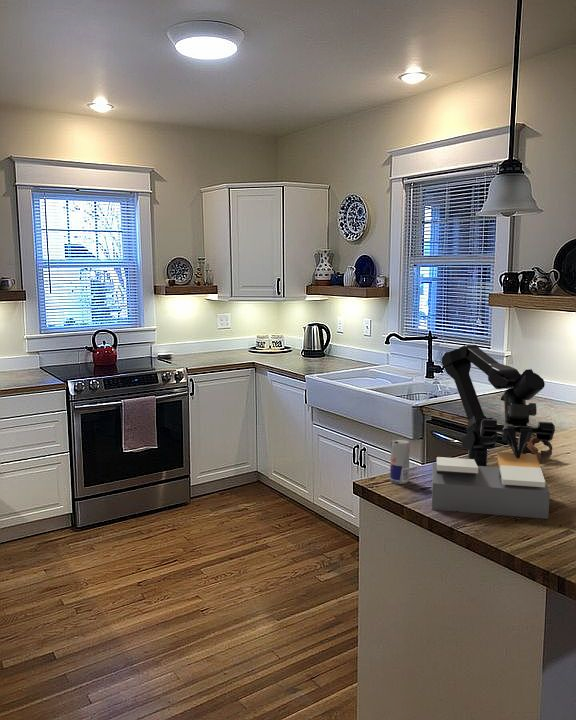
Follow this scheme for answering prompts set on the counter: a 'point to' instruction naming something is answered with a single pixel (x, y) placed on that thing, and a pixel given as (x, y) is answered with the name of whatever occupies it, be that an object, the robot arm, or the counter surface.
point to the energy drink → (399, 461)
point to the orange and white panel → (520, 470)
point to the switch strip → (487, 494)
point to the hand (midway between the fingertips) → (518, 457)
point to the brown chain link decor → (531, 449)
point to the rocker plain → (456, 465)
